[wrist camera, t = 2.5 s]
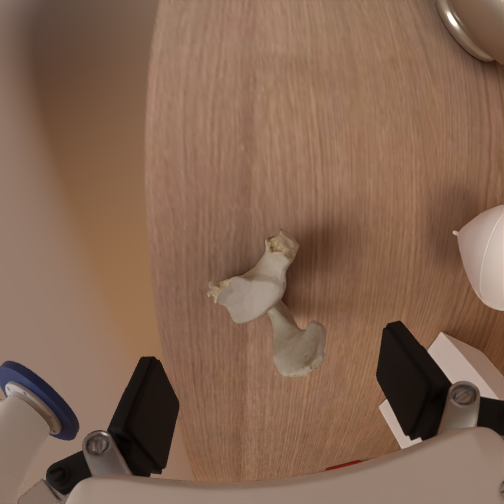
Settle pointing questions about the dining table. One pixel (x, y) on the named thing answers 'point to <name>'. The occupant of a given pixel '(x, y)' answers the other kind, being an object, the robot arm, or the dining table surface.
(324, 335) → the bone
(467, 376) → the milk
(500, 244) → the spinning top
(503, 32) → the teapot
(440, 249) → the dining table surface
